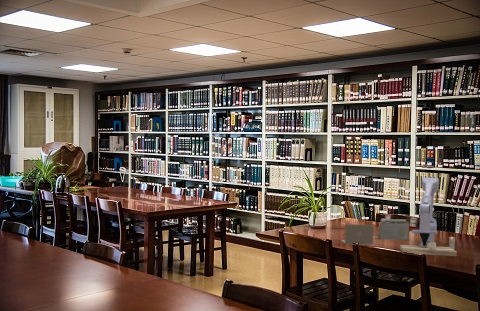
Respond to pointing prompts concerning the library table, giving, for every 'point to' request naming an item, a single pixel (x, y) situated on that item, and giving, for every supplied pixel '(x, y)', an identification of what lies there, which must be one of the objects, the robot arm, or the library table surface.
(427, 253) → the board
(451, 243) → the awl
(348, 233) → the laptop
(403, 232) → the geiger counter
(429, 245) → the finder
